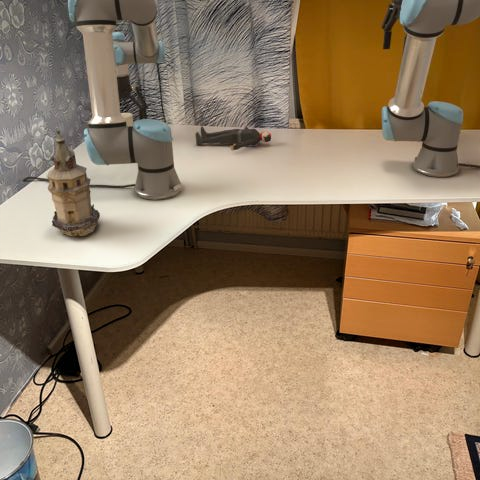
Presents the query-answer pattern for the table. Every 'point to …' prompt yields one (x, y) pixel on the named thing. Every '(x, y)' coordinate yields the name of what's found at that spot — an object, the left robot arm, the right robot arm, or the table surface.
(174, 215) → the table surface
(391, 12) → the right robot arm
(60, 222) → the miniature building
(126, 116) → the can
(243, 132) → the toy
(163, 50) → the left robot arm
